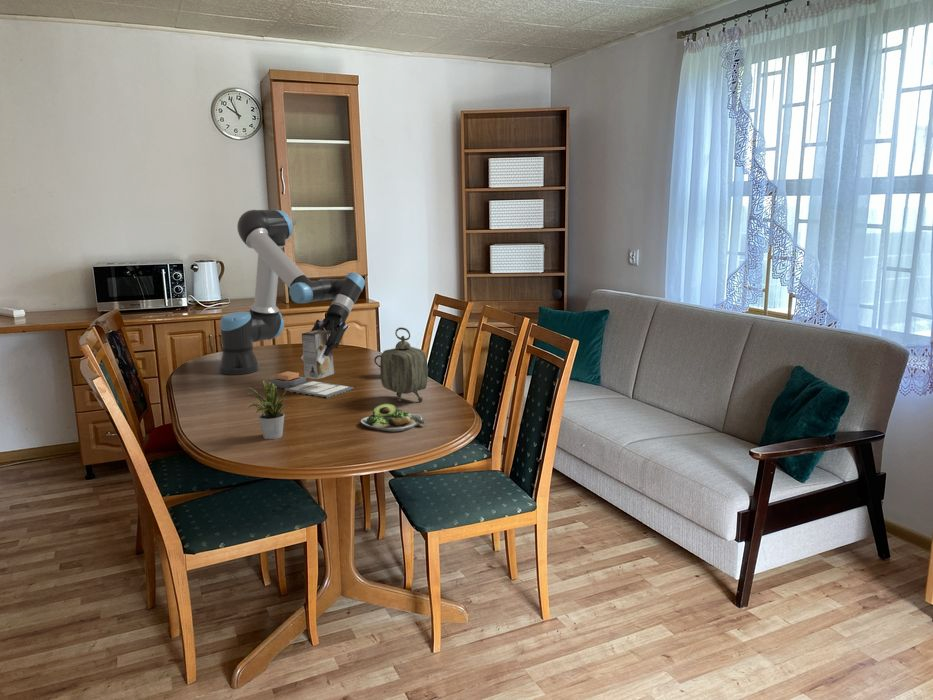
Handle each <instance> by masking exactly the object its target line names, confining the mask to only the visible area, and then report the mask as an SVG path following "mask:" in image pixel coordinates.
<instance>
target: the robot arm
mask: <svg viewBox="0 0 933 700" xmlns="http://www.w3.org/2000/svg"><path fill="white" fill-rule="evenodd" d="M236 227H237V233H238V235H239V237H240V239H241V241H242V242H243V243H244V244H245V245H246V247H247V248H249V249H253V250H254V251H255V252H256V253H257V262H256V263H257V264H256V265H257V267H256V275H255V277H256V278H255V290H254V302H253V304H251V305H250V307H249V311H246V310H245V311H243V310H241V311H236V312H235V311H234V312H229V313H227V314H223V316H222V317H221V318H220V326H219V327H220V335H221V347H222V348H221V349H222V354H221V358H220V363H219V367H218V368H219V369H218V371H219V373H220V374H222V375H227V376H228V375H229V376H230V375H235V376H236V375H245V374H252V373H255V372H257V371H259V370H260V369H259V363H258V360H257V357H256V355H255V353H254V348H253V346H254V345H253V343H256V342H260V341H268V340H269V341H270V340H272V339H275V338H277V337H279V336H280V335H281V334H282V333H283V330H284V326H285V321H284V318H283V315H282V313H281V312H280V309H279V307H278V306H277V295H278V284H279V278H280V279H281V280H282V282H283V283H284V284H285V285H286V286H287V288H289V296H290V298H291V300H292V302H294V303H296V304H308V303H312V302H318V301H319V302H320V301H327V300H332V302H331V304H330V305H329V307H328V309H327V311H326V314H325V315H326V316H325V317H324V318H323V319H322V320H320V319H316V320H315V324H314V325H313V327H312V328H311V330H310V331H309V332H311V331H315V330H329V331H332V332H331V334H330V336H329V338H328V342H327V343H326V344H327V345H324V347H323V349H322V351H321V352H320V354H319V356H318V358H317V361H318V363H319V364H321V365H322V364H323V362H324V360H325V358H326V356H328V355H329V353H330V351H331V349H334V348H335V349H337V348H339V345H340V343H341V341H342V339H343V336H344V334H345V332H346V331H347V329H348V328H349V325H348V324H347V323H346V321H347V319H348V318H349V314H350V313H351V312H352V309H353V308H354V305H355V304H356V302H357V300H358V299H359V297H360V295H361V293H362V292H363V289H364V287H365V285H366V281H365V279H364V278H363V276H362V275H360V274H358V273H357V272H353V271H352V272H348V273H347V275H346V276H345V278H320V279H319V280H310V278H309V277H308V276H306V274H305V273H304V272H303V271H302V270H301V269H300V267H298V266H297V265H296V264H295V262H294V261H293V260H291V258H290V257H289V256H288V255H287V254H286V252H284V250H282V249H283V248H284V247H285V246H286V240H288V239H289V238H290V237H291V236H292V234H293V229H294V228H293V227H294V226H293V222H292V220H291V218H290V216H289V215H288V213H286V212H285V211H283V210H281V209H280V210H277V209H250V210H247V211H245V212H244V213H242V214H241V216H240V217H239V218H238V221H237V225H236ZM300 359H301V360H302V361H303V362H304V360H303V354H302V355H301V358H300Z"/></svg>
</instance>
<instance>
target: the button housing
mask: <svg viewBox="0 0 933 700" xmlns="http://www.w3.org/2000/svg"><path fill="white" fill-rule="evenodd" d="M270 382H271V386H272V383H273V382H274V383H273V384H274V387H275V385H276V386H277V387H278V388H277V389H282V388H285V389H286V388H289V387H293V386H296V385H299V384H303V383H306V382H307V378H305V376H299V377H298V378H295V379H291V380H283V379H277V377H275V378H272V379H269V383H270Z"/></svg>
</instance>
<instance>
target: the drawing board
mask: <svg viewBox="0 0 933 700" xmlns="http://www.w3.org/2000/svg"><path fill="white" fill-rule="evenodd" d="M290 389H291V390H290ZM351 389H353V390H354V386H349V385H348V386H347V385H342V384H336V383H328V382H323V381H322V382H321V381H315V380H310V381H306V383H303V384H299V385H296V386H293V387H289V388H286V389H284V391H285V390H286V391H289V392H288V393H293V392H296V393H295V394H299V393H302V394H301V395H305V394H308V395H307V396H311V395H314V396H313V397H317V396H321V397H320V398H323V397H326V398H325V399H329V398H332V397H334V396H333V395H335V396H338V395H340V393H341V394H343V392H344V393H347V392H349V390H350V391H352V390H351ZM286 391H285V392H286ZM346 391H347V392H346ZM337 394H338V395H337ZM331 396H332V397H331ZM328 397H329V398H328Z"/></svg>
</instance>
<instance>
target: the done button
mask: <svg viewBox="0 0 933 700" xmlns="http://www.w3.org/2000/svg"><path fill="white" fill-rule="evenodd" d="M298 377H300V373H299V372H294V371H284V372H280V373H276V378H277V379H283V380H291V379H295V378H298Z"/></svg>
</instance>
